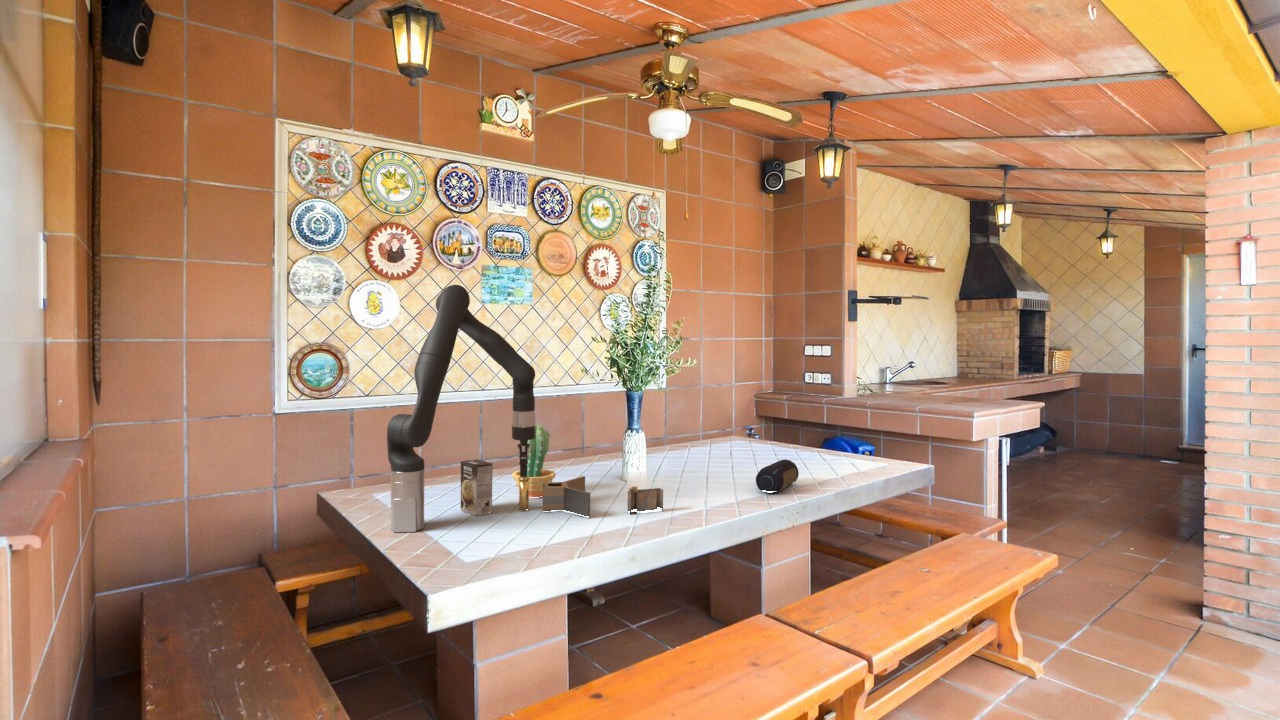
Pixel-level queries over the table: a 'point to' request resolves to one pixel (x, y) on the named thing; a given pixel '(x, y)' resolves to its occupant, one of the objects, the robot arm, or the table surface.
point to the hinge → (566, 496)
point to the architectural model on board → (645, 499)
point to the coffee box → (476, 487)
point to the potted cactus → (537, 463)
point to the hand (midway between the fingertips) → (523, 473)
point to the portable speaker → (777, 475)
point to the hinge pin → (523, 493)
